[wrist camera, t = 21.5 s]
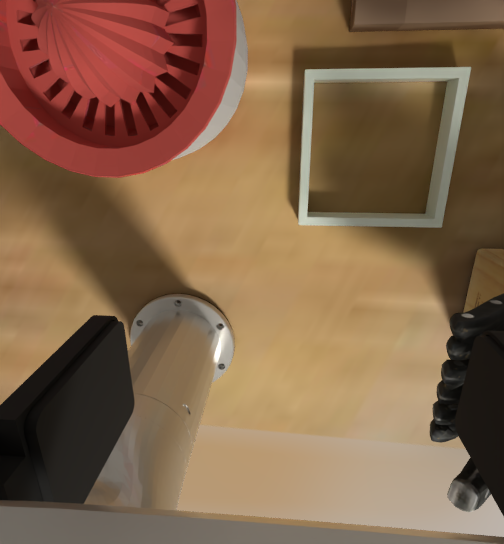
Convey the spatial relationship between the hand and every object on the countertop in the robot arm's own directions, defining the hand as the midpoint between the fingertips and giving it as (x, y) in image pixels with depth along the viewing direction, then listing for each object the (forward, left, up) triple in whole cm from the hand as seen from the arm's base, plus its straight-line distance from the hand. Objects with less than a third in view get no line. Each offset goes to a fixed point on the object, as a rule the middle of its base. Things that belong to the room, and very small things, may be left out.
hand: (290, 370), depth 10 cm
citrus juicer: (+12, +11, -31) cm, 35 cm away
